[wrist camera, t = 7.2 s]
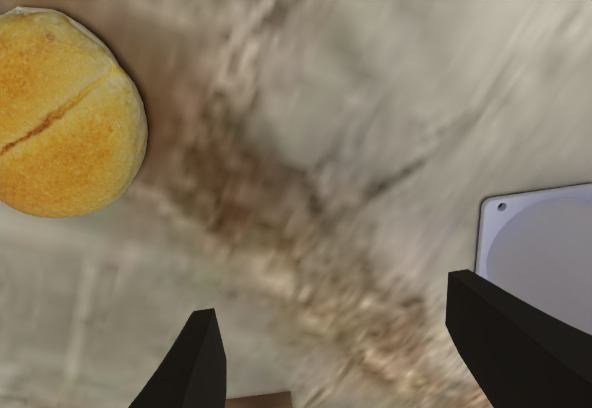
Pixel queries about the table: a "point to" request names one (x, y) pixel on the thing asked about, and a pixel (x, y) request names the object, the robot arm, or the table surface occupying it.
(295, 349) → the table surface
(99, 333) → the table surface
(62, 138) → the bread roll
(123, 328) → the table surface
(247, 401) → the walnut block
